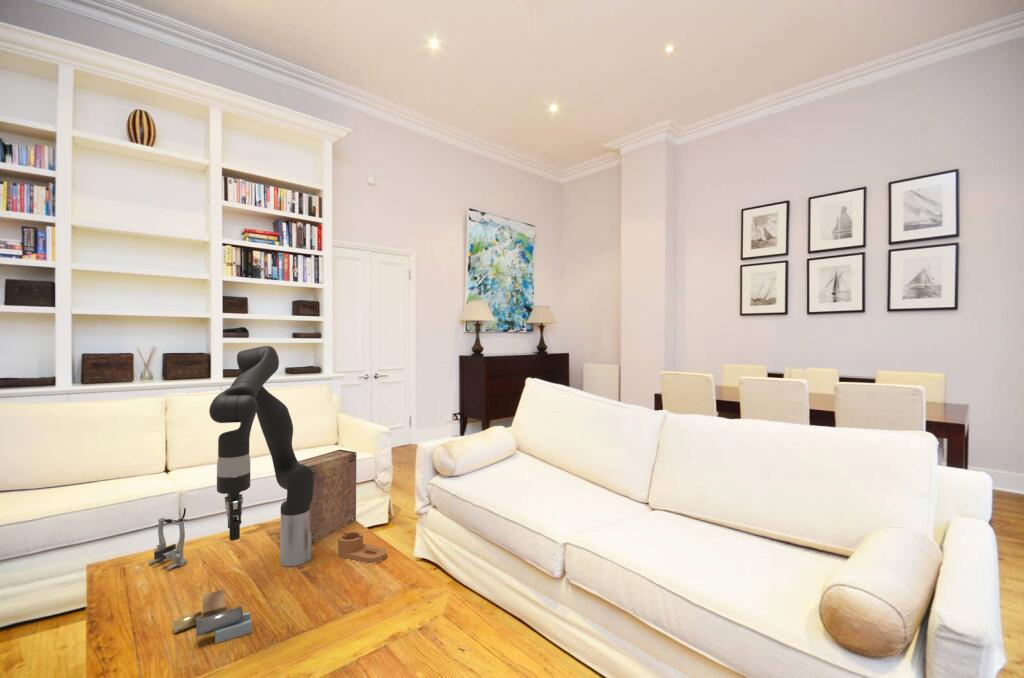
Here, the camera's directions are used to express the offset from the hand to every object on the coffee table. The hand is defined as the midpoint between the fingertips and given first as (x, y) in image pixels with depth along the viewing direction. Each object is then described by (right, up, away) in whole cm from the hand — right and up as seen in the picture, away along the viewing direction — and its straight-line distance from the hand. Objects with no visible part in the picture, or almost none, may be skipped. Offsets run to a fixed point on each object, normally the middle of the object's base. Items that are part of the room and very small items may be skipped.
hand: (233, 533), depth 121 cm
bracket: (+20, -26, +42) cm, 53 cm away
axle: (-2, -24, -2) cm, 24 cm away
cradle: (0, -26, 0) cm, 26 cm away
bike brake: (-43, -26, +34) cm, 60 cm away
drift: (-12, -25, +1) cm, 28 cm away
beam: (-9, -26, +5) cm, 28 cm away
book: (-1, -26, +60) cm, 65 cm away
